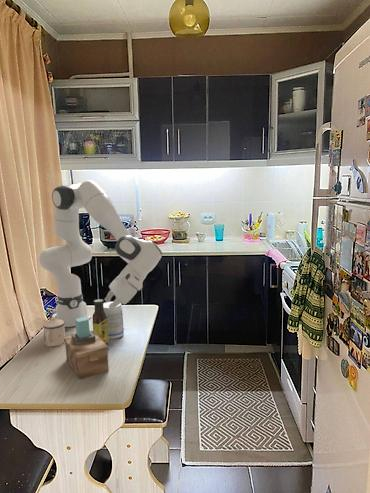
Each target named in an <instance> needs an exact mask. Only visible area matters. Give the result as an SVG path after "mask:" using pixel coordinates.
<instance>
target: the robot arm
mask: <svg viewBox="0 0 370 493" xmlns="http://www.w3.org/2000/svg"><path fill="white" fill-rule="evenodd" d="M51 200H52V203H53V205H54V217H53V218H54V220H53V221H54V223H53V224H54V230H53V231H54V233H55V236H56V237H57V238H58V239H60V240H64V241H65V244H64V245H57V246H52V247H48V248H46V249H43V250H42V251H41V253H40V254H39V260H38V261H39V263H40V266H41V267H42V268H43V269H44V270H46V271H47V272H49V273H51V275H52V276H53V277H54V280H55V283H56V287H57V303H56V306H55V308H53V309H52V315H51V318H52V317H56V319H60V320H63V321H64V322H65V324H64V327H65V328H71V327H76V322H75V319H77V318H82V317H86V318H87V319H88V320H89V321H90V319H92V316H91V315H89V314H88V309H87V308H88V307H87V302H85V301H84V298H83V297H84V295H83V292H82V284H81V282H82V281H81V278H80V277H79V276H78V275H76V274H74V273H71V272H70V271H69V268H72V267H73V268H74V267H77V266H78V267H79V266H82V265H84V264H88V263H90V261H91V260H92V257H93V250H92V247H91V246H90V245H89V244H88V243H86V242H85V241H84V240H83V239H82V237H81V234H80V218H79V216H80V214H79V210H80V209H81V208H82V209H83V208H84V209H85V211H86V212H87V213H88V214H89V216H90V217H91V218H92V219H93V220H94V221H96V223H98V225H100V226H102V227H103V228H104V229H105V230H107V231H108V233H110V234H111V235H112V236H113V237H114V239H115V240H116V243H115V248H114V249H115V252H116V253H117V255H118V257H120V258H121V259H122V260H123V261H124V262H126V263H127V264H126V266H125V267H124V268H123V269H122V270H121V271H120V273H119V274H118V276H116V277H115V278H114V279H113V280H112V282H110V284H109V285H108V288H109V291H108V293H107V294H106V297H105V298H104V301H105V303H106V302H111V300H112V298H113V297H114V296H115V299H114V300H113V301H112V302H113V303H111V304H110V305H109V308H110V309H111V310H113V309H114V308H115V307H116V306H117V305H119V304H120V303H121V305H126V304H127V303H129V302H130V301H131V300H132V299H133V298H134V296H135V295H136V294H137V292H138V291H141V290H142V289H143V282H144V280H145V279H146V278H147V276H148V274H149V273H150V272H152V271H153V270H154V268H156V266H157V265H158V263H159V261H161V259H162V256H163V252H162V250H161V249H160V248H159V246H158V245H157V244H156V243H155V242H154V241H153V240H144V239H140V238H137V237H135V236H132V234H131V233H130V232H129V230H128V229H127V227H125V225H124V223H123V221H122V219H121V218H120V215H119V214H118V211H117V210H116V207H115V205H114V204H113V201H112V200H111V198H110V197H109V195H108V194H107V192H105V190H104V189H103V188H102V187H101V186H100V185H99V184H98V183H97V182H95V181H94V180H85V181H83V182H79V183H78V182H77V183H76V182H75V183H74V184H73V183H72V184H66V185H60V186H59V185H58V186H57V187H55V188H54V189H53V191H52V194H51Z"/></svg>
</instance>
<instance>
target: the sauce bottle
mask: <svg viewBox="0 0 370 493" xmlns="http://www.w3.org/2000/svg"><path fill="white" fill-rule="evenodd" d="M103 303H105V302H104V299H102V298H101V299H99V298H98V299H94V300H93V305H94V312H93V314H92V316H91V319H92V331H93V332H94V333H95V334H96V335H97V336H98V337H99V338H100V339H101V340H102V341H103V342H104V343H105V344H106V345H107V346H108V345H109V339H108V324H107V316H106V314H105V312H104V308H103Z"/></svg>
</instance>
